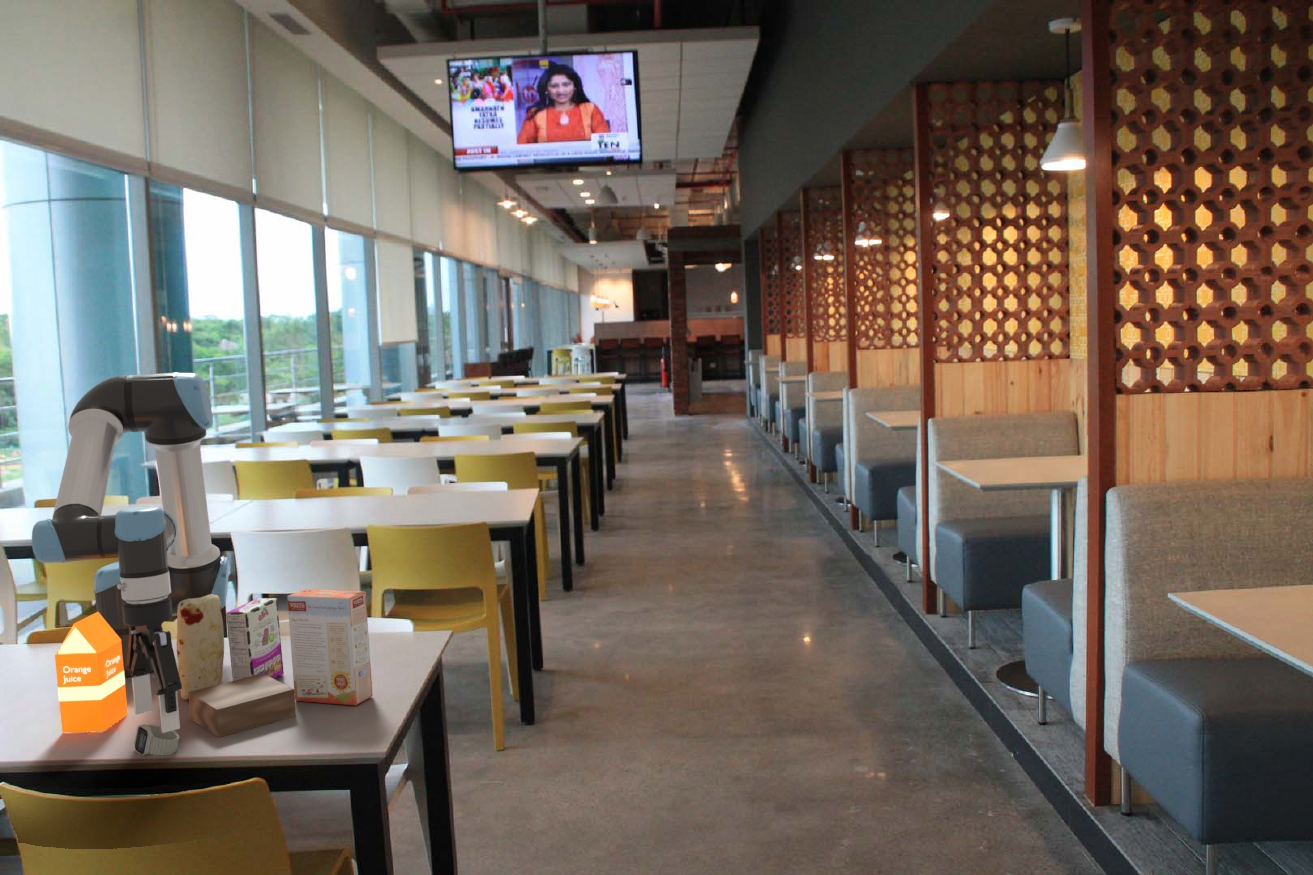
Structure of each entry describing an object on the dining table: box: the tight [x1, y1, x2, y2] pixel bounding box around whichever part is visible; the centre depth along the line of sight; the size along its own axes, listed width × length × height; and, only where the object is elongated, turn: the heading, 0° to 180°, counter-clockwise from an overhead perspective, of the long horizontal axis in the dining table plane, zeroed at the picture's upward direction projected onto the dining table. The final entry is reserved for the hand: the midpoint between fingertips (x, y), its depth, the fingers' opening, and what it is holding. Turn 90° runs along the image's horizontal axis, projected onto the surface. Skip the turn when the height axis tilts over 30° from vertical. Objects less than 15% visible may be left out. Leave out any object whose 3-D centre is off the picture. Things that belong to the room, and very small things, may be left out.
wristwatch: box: [133, 723, 180, 757], centre depth 180 cm, size 9×6×5 cm
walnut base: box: [188, 673, 297, 738], centre depth 194 cm, size 14×14×5 cm
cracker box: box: [287, 588, 373, 706], centre depth 201 cm, size 14×6×21 cm, turn 71°
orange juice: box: [54, 611, 129, 733], centre depth 193 cm, size 8×9×20 cm
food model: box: [176, 594, 225, 700], centre depth 206 cm, size 10×7×20 cm
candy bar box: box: [225, 597, 285, 681], centre depth 212 cm, size 11×5×16 cm, turn 169°
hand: (156, 721), depth 180 cm, fingers open, 13 cm apart
